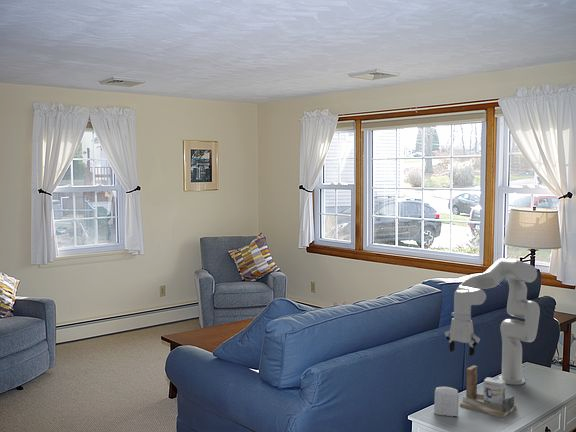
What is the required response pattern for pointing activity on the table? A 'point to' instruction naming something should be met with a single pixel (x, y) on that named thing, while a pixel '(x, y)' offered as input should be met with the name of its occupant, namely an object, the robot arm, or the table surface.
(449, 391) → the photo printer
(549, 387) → the table surface
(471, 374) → the end bracket
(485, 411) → the rail board
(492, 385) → the ink box
